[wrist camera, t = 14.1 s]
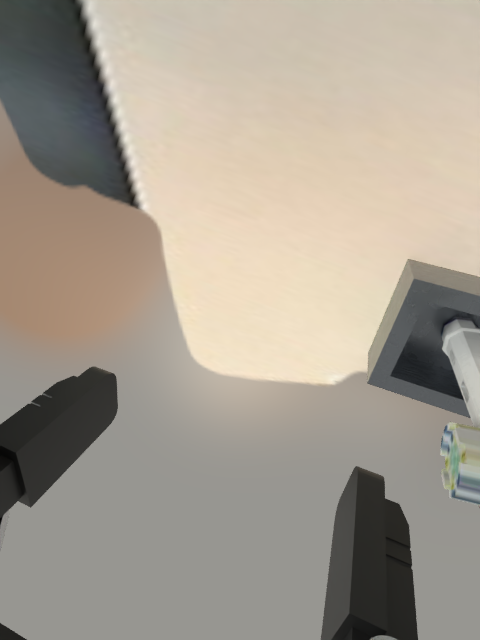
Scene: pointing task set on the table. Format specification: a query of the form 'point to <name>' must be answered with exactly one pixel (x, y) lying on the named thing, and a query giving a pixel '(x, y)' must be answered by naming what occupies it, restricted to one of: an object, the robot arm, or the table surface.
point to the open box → (423, 335)
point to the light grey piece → (476, 386)
